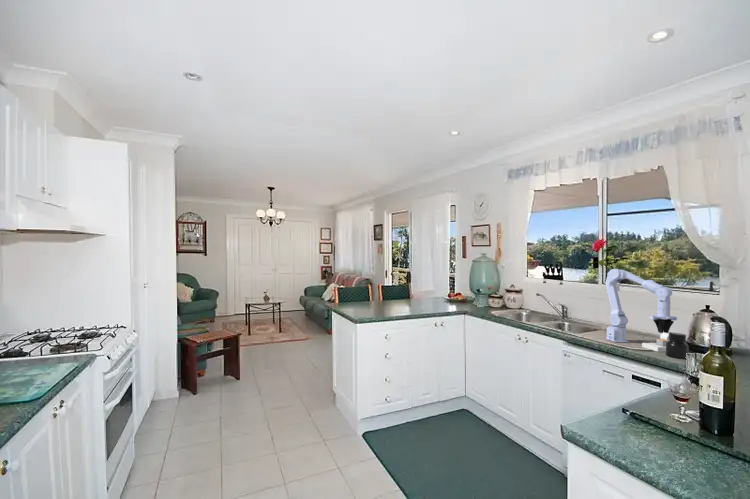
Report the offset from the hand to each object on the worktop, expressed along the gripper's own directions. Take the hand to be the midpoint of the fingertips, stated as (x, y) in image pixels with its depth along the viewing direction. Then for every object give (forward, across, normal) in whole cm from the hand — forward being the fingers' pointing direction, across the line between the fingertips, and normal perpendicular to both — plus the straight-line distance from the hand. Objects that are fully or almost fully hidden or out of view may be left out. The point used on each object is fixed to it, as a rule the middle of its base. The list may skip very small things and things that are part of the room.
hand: (663, 332), depth 196 cm
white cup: (+6, +18, +16) cm, 25 cm away
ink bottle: (+10, -7, -15) cm, 19 cm away
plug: (+9, 0, 0) cm, 9 cm away
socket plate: (+9, 0, 0) cm, 9 cm away
